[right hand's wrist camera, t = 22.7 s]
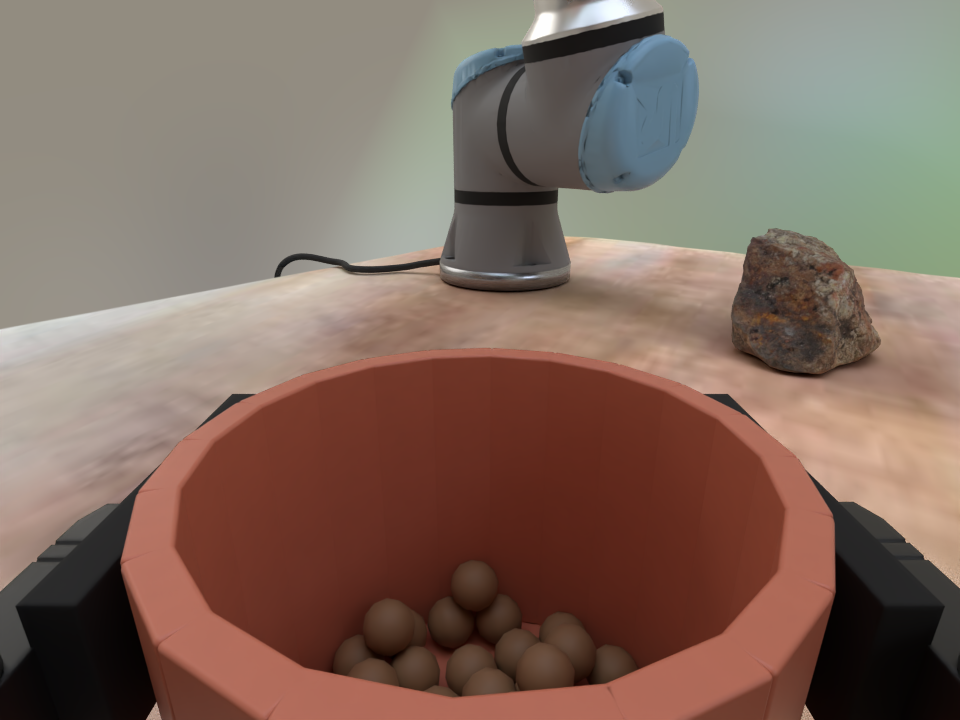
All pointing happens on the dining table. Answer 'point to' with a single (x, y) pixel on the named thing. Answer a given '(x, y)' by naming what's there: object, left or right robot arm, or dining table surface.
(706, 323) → the dining table surface
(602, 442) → the pot
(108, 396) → the dining table surface
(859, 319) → the rock
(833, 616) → the right robot arm
